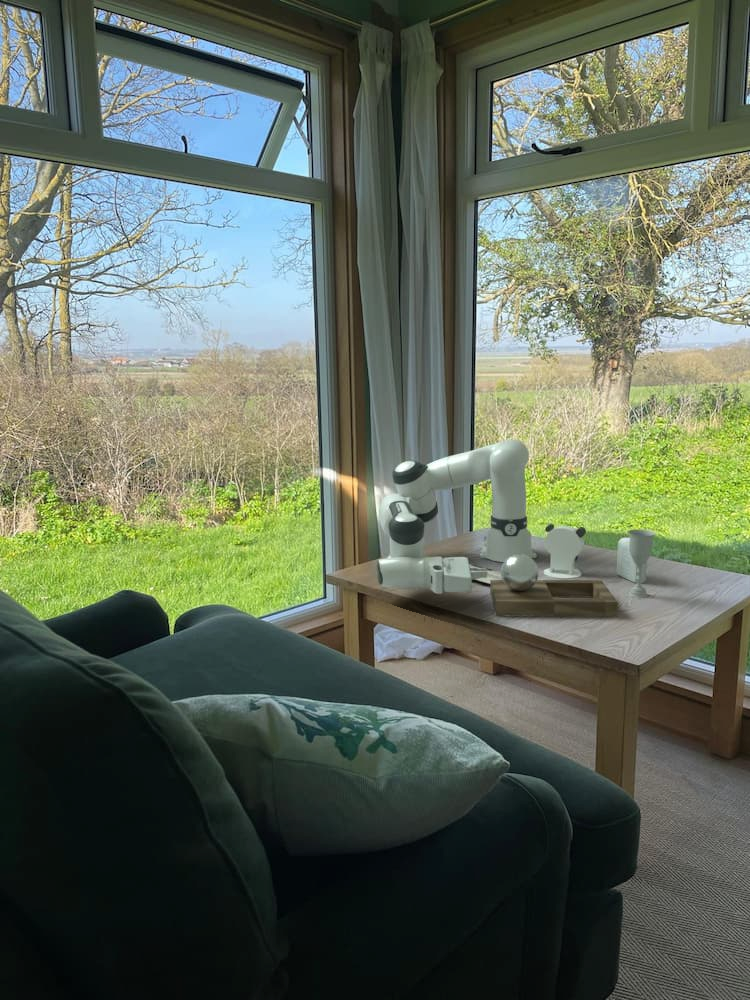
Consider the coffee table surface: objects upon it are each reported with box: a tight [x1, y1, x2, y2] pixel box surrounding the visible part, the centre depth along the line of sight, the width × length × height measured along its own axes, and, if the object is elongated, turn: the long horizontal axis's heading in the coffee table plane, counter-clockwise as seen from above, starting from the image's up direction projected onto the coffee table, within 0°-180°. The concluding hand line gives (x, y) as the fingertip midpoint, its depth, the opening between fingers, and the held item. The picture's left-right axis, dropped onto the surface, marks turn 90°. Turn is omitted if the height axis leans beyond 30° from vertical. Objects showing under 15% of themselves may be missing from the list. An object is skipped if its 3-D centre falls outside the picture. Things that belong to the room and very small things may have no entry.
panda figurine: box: [543, 523, 587, 580], centre depth 220 cm, size 12×11×15 cm
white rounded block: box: [616, 537, 648, 584], centre depth 214 cm, size 10×4×12 cm, turn 17°
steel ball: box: [500, 554, 539, 591], centre depth 193 cm, size 10×10×10 cm
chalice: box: [627, 529, 656, 599], centre depth 199 cm, size 7×7×18 cm
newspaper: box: [436, 555, 502, 585], centre depth 222 cm, size 35×12×4 cm, turn 43°
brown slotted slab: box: [489, 579, 619, 617], centre depth 194 cm, size 18×31×4 cm, turn 86°
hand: (486, 573), depth 194 cm, fingers closed
